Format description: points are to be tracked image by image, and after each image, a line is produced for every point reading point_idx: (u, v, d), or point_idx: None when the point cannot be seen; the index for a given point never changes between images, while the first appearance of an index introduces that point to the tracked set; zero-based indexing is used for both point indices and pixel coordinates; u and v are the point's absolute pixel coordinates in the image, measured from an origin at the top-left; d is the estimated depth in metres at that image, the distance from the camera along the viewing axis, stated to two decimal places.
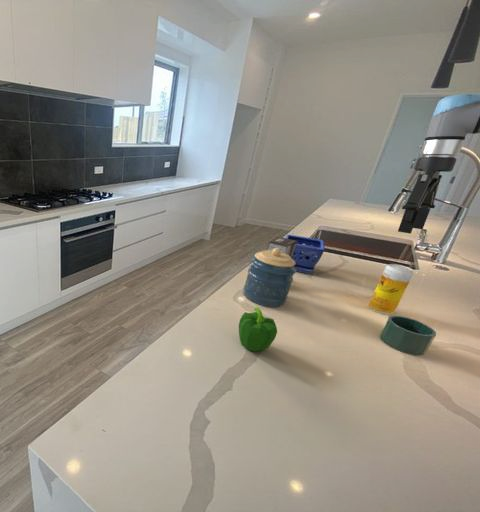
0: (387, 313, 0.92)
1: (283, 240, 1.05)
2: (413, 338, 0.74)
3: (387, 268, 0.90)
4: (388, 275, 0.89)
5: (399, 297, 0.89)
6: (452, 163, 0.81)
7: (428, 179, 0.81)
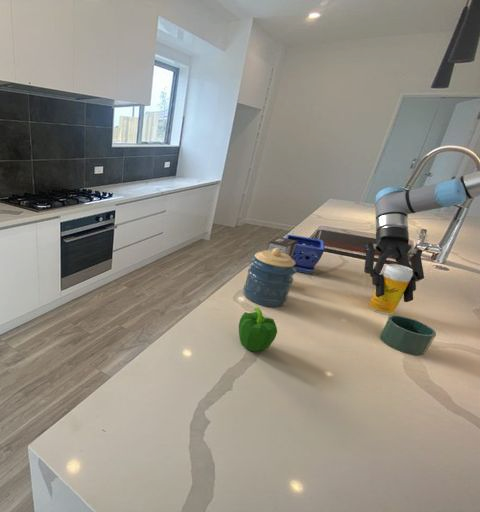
0: (387, 313, 0.92)
1: (283, 240, 1.05)
2: (413, 338, 0.74)
3: (387, 268, 0.90)
4: (388, 275, 0.89)
5: (399, 297, 0.89)
6: (393, 230, 0.94)
7: (368, 247, 0.96)
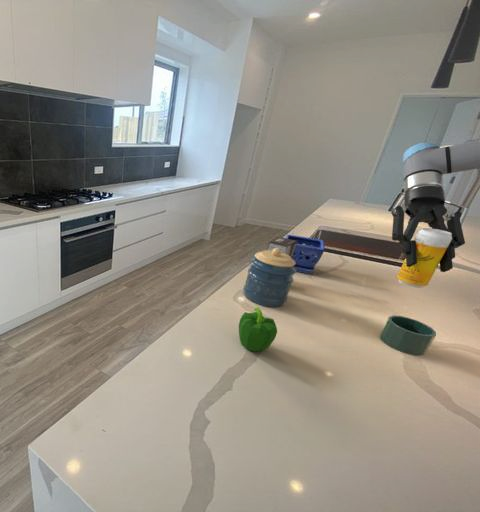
0: (419, 286, 0.79)
1: (283, 240, 1.05)
2: (413, 338, 0.74)
3: (420, 232, 0.77)
4: (421, 241, 0.76)
5: (435, 266, 0.76)
6: (426, 189, 0.80)
7: (397, 210, 0.82)
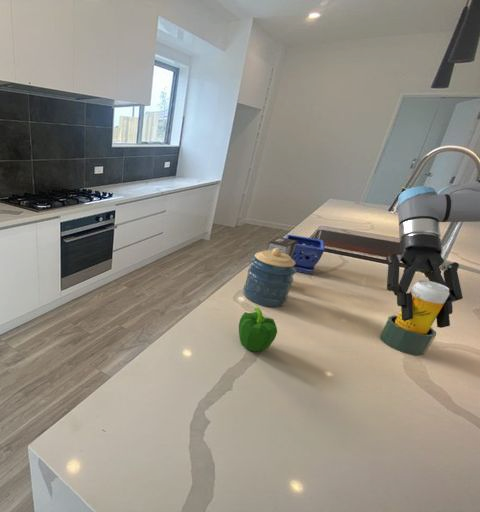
0: None
1: (283, 240, 1.05)
2: (413, 338, 0.74)
3: (416, 286, 0.73)
4: (417, 295, 0.73)
5: (431, 321, 0.73)
6: (422, 238, 0.77)
7: (392, 259, 0.79)
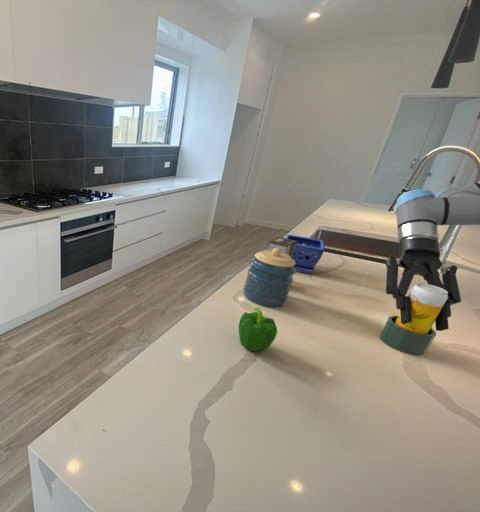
0: None
1: (283, 240, 1.05)
2: (413, 338, 0.74)
3: (415, 289, 0.74)
4: (416, 298, 0.73)
5: (430, 324, 0.73)
6: (420, 241, 0.77)
7: (390, 262, 0.79)
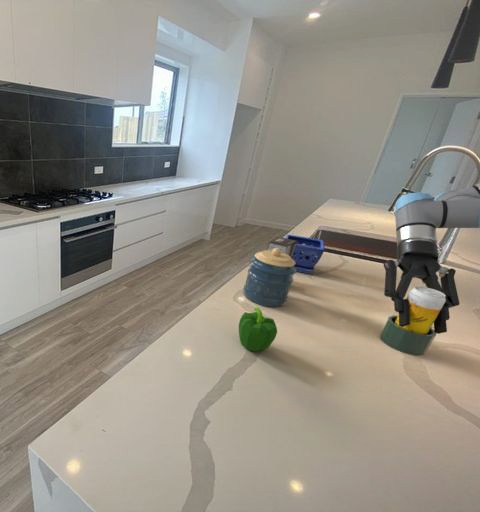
0: None
1: (283, 240, 1.05)
2: (413, 338, 0.74)
3: (413, 292, 0.74)
4: (414, 301, 0.73)
5: (428, 327, 0.73)
6: (419, 244, 0.78)
7: (389, 265, 0.80)
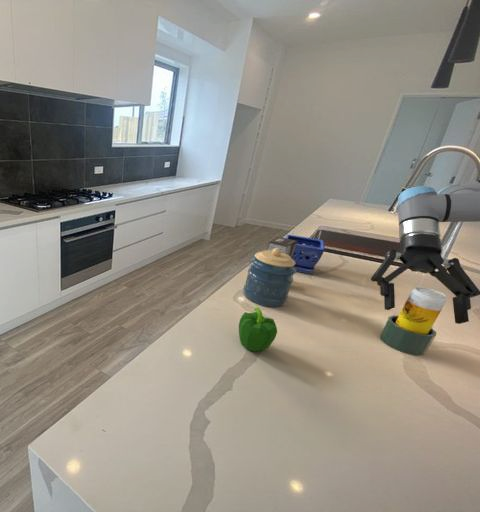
0: None
1: (283, 240, 1.05)
2: (413, 338, 0.74)
3: (414, 293, 0.74)
4: (415, 302, 0.73)
5: (428, 328, 0.73)
6: (422, 238, 0.77)
7: (389, 253, 0.80)
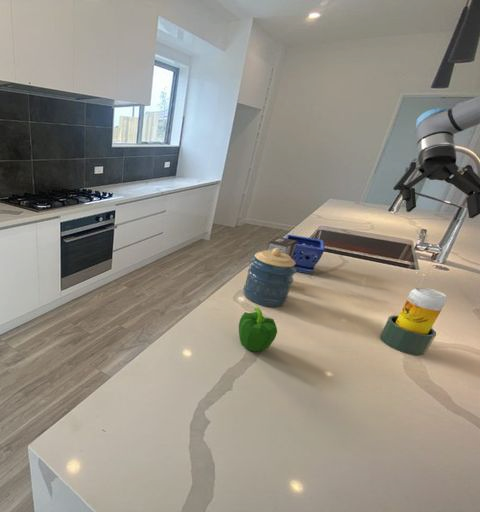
0: None
1: (283, 240, 1.05)
2: (413, 338, 0.74)
3: (414, 293, 0.74)
4: (415, 302, 0.73)
5: (428, 328, 0.73)
6: (439, 149, 0.88)
7: (410, 165, 0.90)
